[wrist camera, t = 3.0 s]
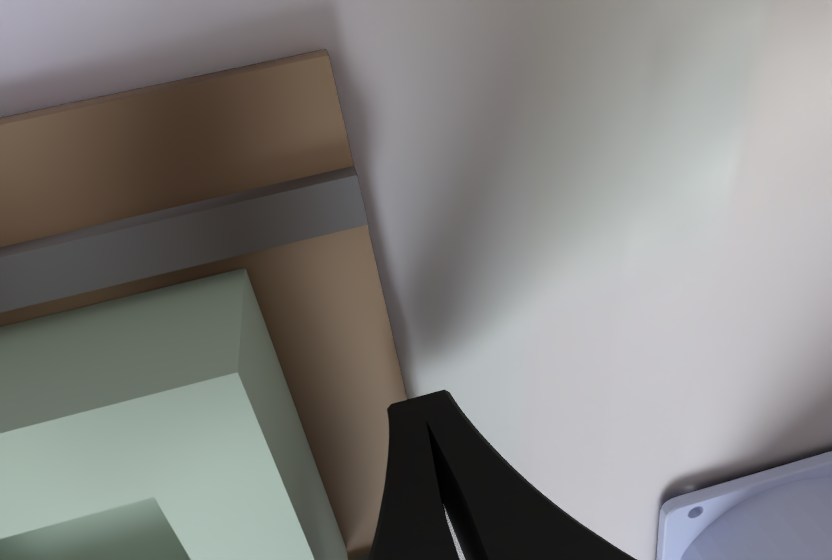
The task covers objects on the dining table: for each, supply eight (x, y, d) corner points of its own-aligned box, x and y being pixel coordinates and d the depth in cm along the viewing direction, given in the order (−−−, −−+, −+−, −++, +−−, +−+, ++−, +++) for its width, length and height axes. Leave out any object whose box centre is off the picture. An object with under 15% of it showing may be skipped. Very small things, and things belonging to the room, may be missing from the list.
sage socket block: (245, 267, 12) (237, 372, 9) (346, 550, 17) (362, 676, 14) (-248, 386, 11) (-422, 541, 8) (5, 648, 16) (-52, 804, 13)
